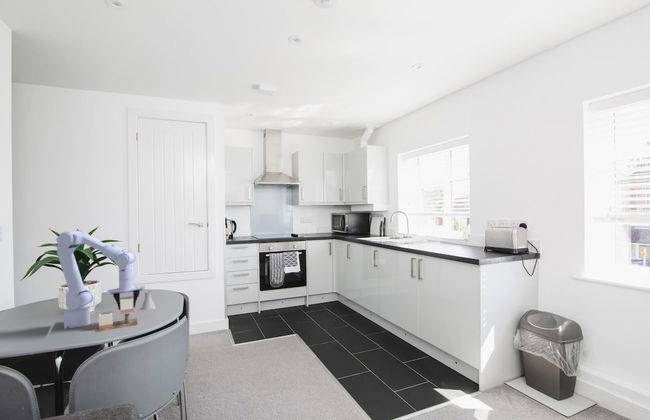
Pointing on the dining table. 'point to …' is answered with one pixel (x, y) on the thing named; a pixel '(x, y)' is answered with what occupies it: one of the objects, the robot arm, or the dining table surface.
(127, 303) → the sleeve
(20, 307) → the dining table surface
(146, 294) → the flask
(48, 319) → the dining table surface
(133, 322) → the pin board
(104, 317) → the seated sleeve
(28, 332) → the dining table surface
